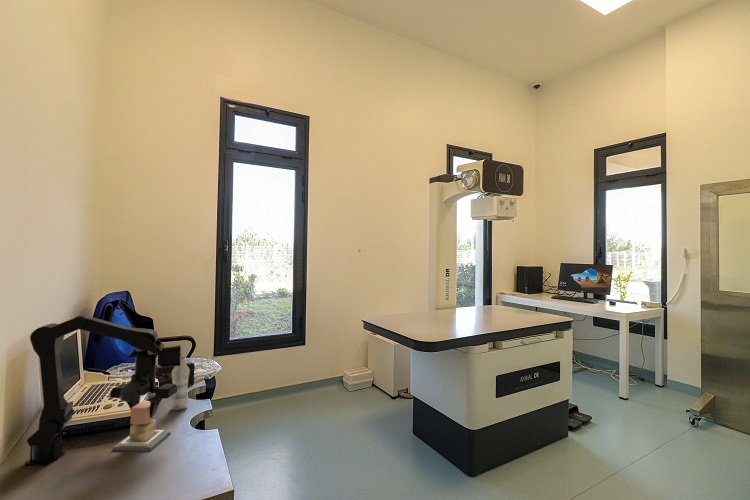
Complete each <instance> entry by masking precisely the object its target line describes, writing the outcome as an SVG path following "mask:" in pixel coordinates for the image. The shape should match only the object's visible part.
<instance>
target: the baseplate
mask: <svg viewBox="0 0 750 500" xmlns="http://www.w3.org/2000/svg"><path fill="white" fill-rule="evenodd" d="M170 435H171V431H168V430H167V431H165V430H164V429H155V436H153V437H152V438H151V439H150V440H149V441H147V442H130V434H129V435H127V436H126V437H125V438H123V439H121V440H120V441H119V442H117V444H115V445H114V446H112V451H141V452H142V451H149V452H150V451H153V450H154V449H155V448H157V446H158V445H160V444H161V443H162V442H164V441H165V439H167V438H168V437H169V436H170Z"/></svg>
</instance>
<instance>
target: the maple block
mask: <svg viewBox="0 0 750 500" xmlns="http://www.w3.org/2000/svg"><path fill="white" fill-rule="evenodd" d="M156 422H157V420H156V419H152V420H151V421H150V422H148V423H147V424H131V425H130V428H129V435H130V442H147V441H149V440H150V439H151V438H152V437H153V436H155V430H157V428H156V425H157V423H156Z"/></svg>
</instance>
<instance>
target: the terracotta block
mask: <svg viewBox="0 0 750 500" xmlns="http://www.w3.org/2000/svg"><path fill="white" fill-rule="evenodd" d="M156 417H157V411H156V412H155V414H154V416H153V417H152V418H150V401H140V402H139V404H137V405H135V406H134V407H132V408H131V410H130V420H129V421H130V422H129V423H130V424H129V425H134V424H147V423H148V422H150V421H151V420H155V418H156Z"/></svg>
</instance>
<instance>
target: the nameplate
mask: <svg viewBox="0 0 750 500" xmlns="http://www.w3.org/2000/svg"><path fill="white" fill-rule="evenodd" d="M186 365H187V366H188V367H189V370H190V372H189V378H188V384H187V385H188V386H192V385H194V383H195V366H196V365H195V363H194V362H189V363H188V362H186ZM174 367H175V366H174ZM174 367H164V368H162V367H161V366H156V370H158V373H156V375H155V378H156V379H158V381H159V387H161V386H163V385H165V384H173V382H172V370H173V369H174Z"/></svg>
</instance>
